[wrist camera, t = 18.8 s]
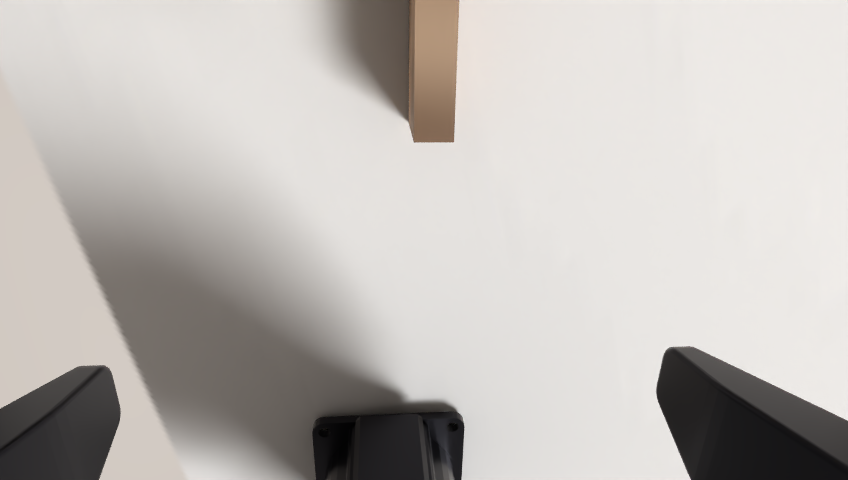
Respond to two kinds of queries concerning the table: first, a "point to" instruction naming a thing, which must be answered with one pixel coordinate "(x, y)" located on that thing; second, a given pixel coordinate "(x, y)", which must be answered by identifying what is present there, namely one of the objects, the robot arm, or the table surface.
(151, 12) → the table surface
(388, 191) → the table surface
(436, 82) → the walnut stall
